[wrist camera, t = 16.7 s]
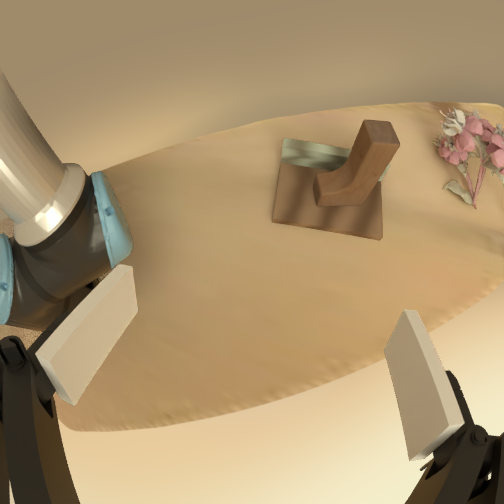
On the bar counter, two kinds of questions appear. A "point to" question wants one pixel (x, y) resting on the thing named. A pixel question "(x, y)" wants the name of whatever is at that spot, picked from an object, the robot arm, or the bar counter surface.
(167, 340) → the bar counter surface
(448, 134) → the flower
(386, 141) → the wooden block
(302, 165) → the walnut edge board
